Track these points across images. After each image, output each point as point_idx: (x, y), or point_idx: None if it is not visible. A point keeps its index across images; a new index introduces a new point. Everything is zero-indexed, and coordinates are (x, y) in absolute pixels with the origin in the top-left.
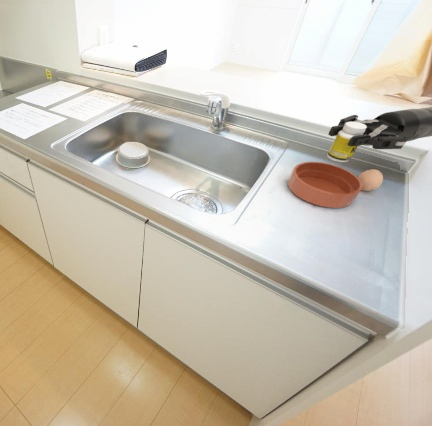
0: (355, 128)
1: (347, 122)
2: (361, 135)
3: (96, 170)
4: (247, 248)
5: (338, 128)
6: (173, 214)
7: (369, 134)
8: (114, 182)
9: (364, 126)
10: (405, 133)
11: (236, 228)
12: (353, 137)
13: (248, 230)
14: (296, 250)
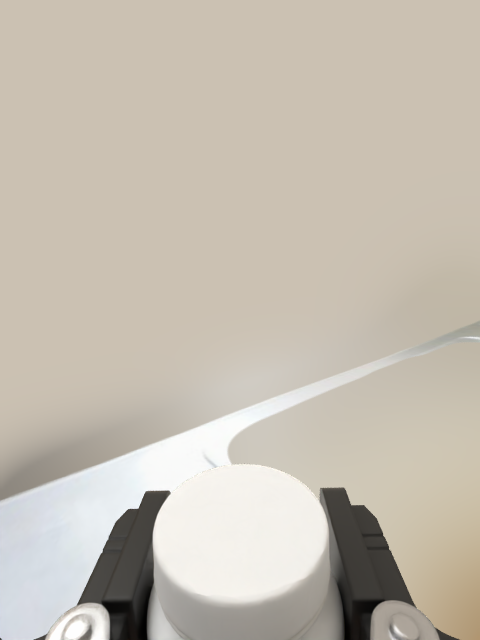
0: (194, 477)
1: (309, 497)
2: (141, 546)
3: (397, 361)
4: (143, 450)
5: (328, 523)
6: (263, 402)
7: (102, 616)
8: (361, 370)
9: (180, 554)
10: None
11: (193, 454)
12: (159, 491)
13: (177, 468)
14: (79, 513)
